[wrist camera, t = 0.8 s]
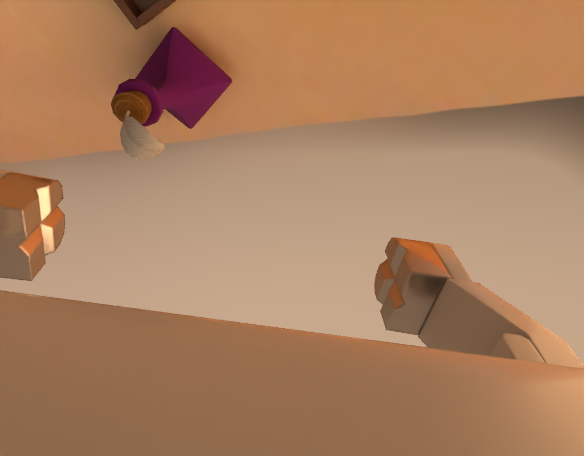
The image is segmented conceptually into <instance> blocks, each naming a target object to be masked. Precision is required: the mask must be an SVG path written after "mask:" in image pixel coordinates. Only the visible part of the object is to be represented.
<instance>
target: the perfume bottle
mask: <svg viewBox="0 0 584 456" xmlns="http://www.w3.org/2000/svg"><path fill="white" fill-rule="evenodd" d="M231 83H232V79H231V78H230V77H229V76H228V75H227V74H226V73H224V72H223V71H222V70H221V69H220V68H219V67H218V66H217V65H216V64H215V63H214V62H212V61H211V60H210V59H209V58H208V57H207V56H206V55H205V54H204V53H203V52H201V51H200V50H199V49H198V48H197V47H196V46H195V45H194V44H193V43H192V42H191V41H189V40H188V39H187V38H186V37H185V36H184V35H183V34H182V33H181V32H180V31H178V30H177V29H176V28H174V27H173V28H171V29H170V31H169V32H168V34H167V35H166V36H165V38H164V39H163V41H162V42H161V43H160V45H159V46H158V48H157V49H156V50H155V52H154V53H153V55H152V56H151V57H150V59H149V60H148V61H147V63H146V64H145V66H144V67H143V68H142V70H141V71H140V73H139V74H138V75H137V77H136V78H135V79H129V80H127V81H125V82H123V83H121V84H119V86H118V89H117V91H116V93H115V95H114V97H113V99H112V102H111V106H112V110H113V113H114V114H115V115H116V117H117V118H118V119H119V120H120V121H122V122H123V125H122V128H121V132H120V136H121V143H122V146H123V147H124V149H125V151H126V152H127V153H128V154H129V155H130V156H131V157H134V158H137V159H146V158H149V157H152V156H156V155H158V154H159V153H160V152H162V151H163V149H164V147H165V145H164V144H163V143H161V142H160V141H158V140H157V139H156V138H155V137H154V136H153V135H152V134H151V133H150V132H149V131H148V130H147V129H146V128H145V127H143V126H149V125H151V124H154V123H156V122H158V120H159V118H160V116H161V114H162V113H163V109H166V110H167V111H168V112H170V113H171V114H172V115H173V116H174V117H176V118H177V119H178V120H179V121H181V122H182V123H183V124H184V125H185V126H187V127H188V128H190V129H191V128H193V127H194V126H195V124H196V123H197V122H198V121H199V120H200V119H201V117H202V116H203V115H204V114H205V113H206V112H207V111H208V109H209V108H210V107H211V106H212V105H213V104H214V102H215V101H216V100H217V99H218V98H219V97H220V95H221V94H222V93H223V92H224V91H225V90H226V88H227V87H228V86H229V85H230V84H231Z"/></svg>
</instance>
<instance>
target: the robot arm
mask: <svg viewBox="0 0 584 456" xmlns="http://www.w3.org/2000/svg"><path fill="white" fill-rule="evenodd" d="M62 191H63V190H62V185H61V183H60V182H59V181H58V180H53V179H47V178H41V177H37V176H31V175H25V174H21V173H15V172H11V171H6V170H0V277H1V278H11V279H18V280H27V281H32V279H33V278H34V277H35V276H36V275H37V273H38V272H39V271H40V270H41V268H42V267H43V266H44V264H45V263H46V262H45V255H48V254H50V253H53V252H55V250H56V249H57V248H58V246H59V245H60V243H61V240H62V238H63V235H64V229H65V215H64V213H63V212H62V211H61V210H60V209H59V207H58V206H57V205H58V204H59V203H60V202H61V200H62V199H63V192H62ZM385 253H386V255H387V258H388V259H387V260H386V261H384V262H383V263H381V264H380V265H379V268H378V270H377V273H376V278H375V295H376V298H377V300H378V301H379V302H380V303H382V304H383V306H382V309H381V315H382V318H383V321H384V324H385V328H386V330H390V331H396V332H402V333H408V334H414V335H419V336H418V337H419V338H420V339H421V340H422V342H423V343H424V344H426V346H427V347H428V348H427V347H420V346H412V345H405V344H397V343H390V342H382V341H375V340H366V339H360V338H352V337H345V336H337V335H330V334H322V333H315V332H307V331H300V330H292V329H285V328H277V327H270V326H262V325H255V324H248V323H240V322H232V321H225V320H217V319H210V318H203V317H195V316H188V315H180V314H172V313H165V312H158V311H150V310H142V309H135V308H127V307H120V306H113V305H106V304H97V303H91V302H83V301H76V300H68V299H61V298H53V297H45V296H38V295H31V294H23V293H15V292H8V291H1V290H0V456H584V365H583V364H582V363H581V361H580V360H579V359H578V358H577V356H576V355H575V354H574V352H573V351H572V350H571V348H570V347H569V346H568V344H567V343H566V342H565V341H564V340H563V339H561V338H560V337H558V336H557V335H555V334H554V333H552V332H551V331H549V330H548V329H546V328H545V327H544V326H542V325H540V324H539V323H537V322H536V321H534V320H533V319H531V318H530V317H529V316H527V315H525V314H524V313H523V312H521V311H520V310H518V309H517V308H515V307H514V306H512V305H511V304H509V303H508V302H506V301H504V300H503V299H502V298H500V297H499V296H497V295H496V294H494V293H493V292H491V291H490V290H488V289H487V288H485V287H484V286H482V285H481V284H479V283H475V282H472V280H471V279H470V277H469V275H468V274H467V272H466V271H465V269H464V267H463V266H462V264H461V263H460V261H459V259H458V258H457V256H456V255H455V253H454V251H453V250H452V249H451V247H449V246H448V245H443V244H434V243H429V242H422V241H415V240H408V239H401V238H391V240H390V241H389V242H388V245H387V247H386V250H385Z"/></svg>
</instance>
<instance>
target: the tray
mask: <svg viewBox="0 0 584 456" xmlns="http://www.w3.org/2000/svg"><path fill="white" fill-rule="evenodd" d="M114 1H115V3H116V4H117V5H118V7H119V8H120V9H121V11H122V12H123V13H124V15H125V16H126V17H127V19H128V20H129V21H130V22H131V24H132V25H133V26H134V28H135V29H136V30H137V29H138V28H140V27H142V26H143V25H145V24H146V23H147V22H149V21H150V20H151V19H153V18H154V17H155V16H156V15H158V14H159V13H160V12H162V11H163V10H164V9H165V8H167V7H168V6H169V5H170V4H172V3H173V2H174V1H176V0H114Z"/></svg>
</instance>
